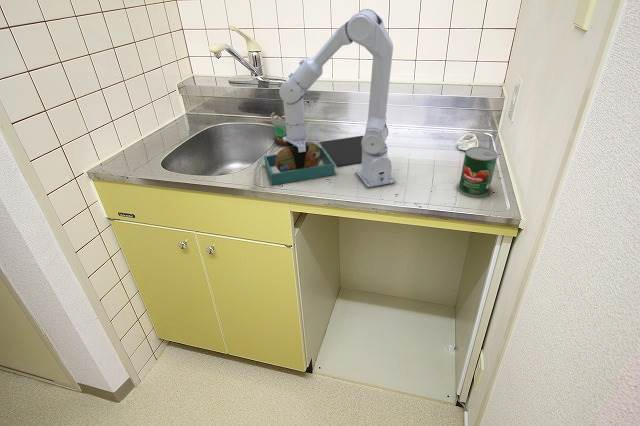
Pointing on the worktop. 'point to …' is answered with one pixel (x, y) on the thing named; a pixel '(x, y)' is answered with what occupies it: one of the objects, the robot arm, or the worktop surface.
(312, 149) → the tin
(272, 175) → the crate
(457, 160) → the worktop surface
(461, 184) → the canned tomato
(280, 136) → the food container
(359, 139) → the mat
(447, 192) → the worktop surface
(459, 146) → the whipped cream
